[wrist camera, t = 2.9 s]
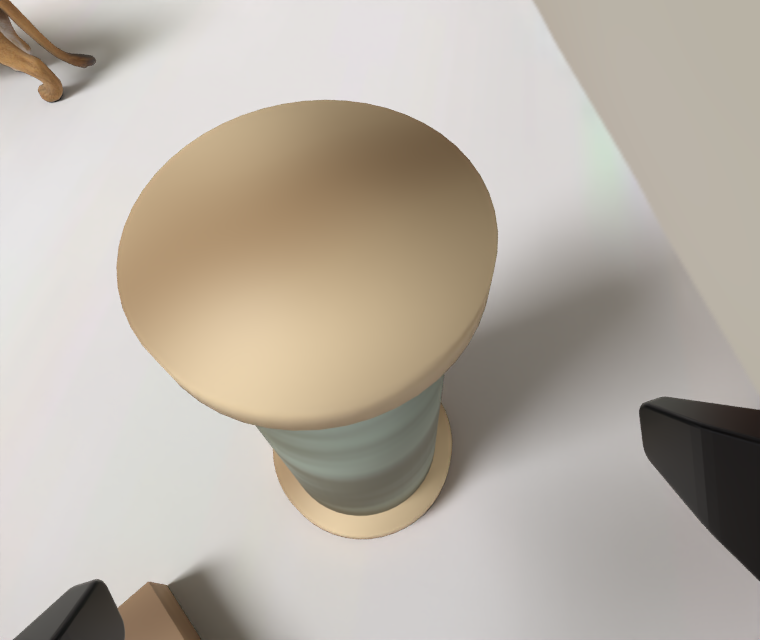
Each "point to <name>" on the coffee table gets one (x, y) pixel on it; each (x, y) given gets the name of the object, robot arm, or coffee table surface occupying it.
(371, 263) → the cord spool
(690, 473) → the robot arm
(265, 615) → the coffee table surface
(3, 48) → the lion figurine
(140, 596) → the wooden plank structure
